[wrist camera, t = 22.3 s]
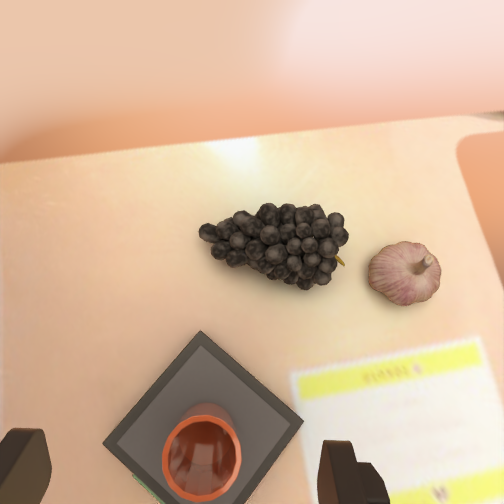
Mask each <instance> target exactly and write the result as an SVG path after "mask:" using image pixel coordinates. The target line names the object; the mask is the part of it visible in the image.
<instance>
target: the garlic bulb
mask: <svg viewBox="0 0 504 504" xmlns="http://www.w3.org/2000/svg"><path fill="white" fill-rule="evenodd" d="M369 272H370V274H369V284H370V286H371V287H372V288H373V289H374V290H377V291H380V292H382V293H384V294H385V295H386V296H387V297H388V298H389V299H390V301H392V302H393V303H395V304H397V305H401V306H407V305H411V304H413V303H415V302H424V301H426V300H428V299H429V298H431V296H432V295H433V293H435V292H436V291H437V290H438V288H439V285H440V276H441V267H440V265H439V262H438V260H437V259H436V257H435V256H434V255H432V254H431V253H430V252H429V251H428V250H427V248H426V247H425V246H424V245H422V244H420V243H411V242H407V241H404V242H399V243H397V244H395V245H389V246H386V247H384V248H383V249H382V250H381V251H380V253H379V254H377V255H376V256H374V257H373V258H372V260H371V261H370V265H369Z"/></svg>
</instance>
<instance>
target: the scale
mask: <svg viewBox="0 0 504 504" xmlns="http://www.w3.org/2000/svg"><path fill="white" fill-rule="evenodd" d="M199 403H214V404H217V405H219V406H221V407H223V408H224V409H225V410H226V411H227V412H228V413H229V414H230V415H231V417H232V419H233V421H234V424H235V426H236V430H237V433H238V437H239V441H240V445H241V457H242V463H241V466H240V469H239V473H238V476H237V479H236V480H235V481H234V483H233V484H232V485H231V487H230V488H229V489H228V491H226V493H224V494H222V495H221V496H219V497H217V498H216V499H214V500H212V501H204V502H193V501H190V500H187V499H184V498H181V497H180V496H179V495H178V494H177V493H176V492H175V491H174V490H173V489H171V488H170V486H169V485H168V482H167V480H166V478H165V475H164V473H163V470H162V452H163V449H164V446H165V443H166V440H167V438H168V436H169V434H170V433H171V431H172V430H173V428H174V426H175V425H176V423H177V422H178V420H179V419H180V418H181V416H182V415H183V414H184V413H185V411H186V410H188V409H189V408H191V407H192V406H194V405H196V404H199ZM303 422H304V420H302V419H301V418H300V417H299V416H298V415H297V414H296V413H294V412H293V411H292V410H291V409H290V408H289V407H288V406H286V405H285V404H284V403H283V402H282V401H281V400H280V399H278V398H277V397H276V396H275V395H274V394H273V393H272V392H270V391H269V390H268V389H267V388H266V387H265V386H264V385H262V384H261V383H260V382H259V381H258V380H257V379H256V378H254V377H253V376H252V375H251V374H250V373H249V372H248V371H246V370H245V369H244V368H243V367H242V366H241V365H240V364H238V363H237V362H236V361H235V360H234V359H233V358H232V357H230V356H229V355H228V354H227V353H226V352H225V351H224V350H222V349H221V348H220V347H219V346H218V345H217V344H216V343H214V342H213V341H212V340H211V339H210V338H209V337H208V336H206V335H205V334H204V333H203V332H202V331H199V332H198V333H197V334H196V336H195V337H194V338H193V339H192V340H191V341H190V343H189V344H188V345H187V346H186V347H185V348H184V349H183V351H182V352H181V353H180V354H179V355H178V356H177V358H176V359H175V360H174V361H173V362H172V363H171V364H170V366H169V367H168V368H167V369H166V370H165V371H164V373H163V374H162V375H161V376H160V377H159V378H158V379H157V381H156V382H155V383H154V384H153V385H152V386H151V388H150V389H149V390H148V391H147V392H146V393H145V395H144V396H143V397H142V398H141V399H140V400H139V401H138V403H137V404H136V405H135V406H134V407H133V408H132V410H131V411H130V412H129V413H128V414H127V415H126V416H125V418H124V419H123V420H122V421H121V422H120V423H119V425H118V426H117V427H116V428H115V429H114V430H113V431H112V433H111V434H110V435H109V436H108V437H107V438H106V440H105V441H104V442H103V443H102V444H103V445H104V446H105V447H106V448H107V449H108V450H109V451H110V452H111V453H113V454H114V455H115V456H116V457H117V458H118V459H119V460H120V461H121V462H122V463H123V464H124V465H125V466H126V467H127V468H128V469H129V470H130V471H131V472H133V473H134V474H133V477H134V478H135V479H136V480H137V481H138V482H139V483H140V484H141V485H142V486H143V487H144V488H145V489H146V490H147V491H148V492H150V493H151V494H152V495H153V496H154V497H155V498H156V499H157V500H158V501H159V502H160V503H161V504H244V503H245V502H246V501H247V499H248V498H249V497H250V495H251V494H252V492H253V491H254V490H255V488H256V487H257V486H258V484H259V483H260V481H261V480H262V479H263V477H264V476H265V475H266V473H267V472H268V470H269V469H270V468H271V466H272V465H273V464H274V462H275V461H276V459H277V458H278V457H279V455H280V454H281V452H282V451H283V450H284V448H285V447H286V446H287V444H288V443H289V441H290V440H291V439H292V437H293V436H294V435H295V433H296V432H297V430H298V429H299V428H300V426H301V425H302V424H303Z"/></svg>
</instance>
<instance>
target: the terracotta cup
mask: <svg viewBox="0 0 504 504" xmlns="http://www.w3.org/2000/svg"><path fill="white" fill-rule="evenodd" d="M241 463H242V457H241V445H240V441H239V437H238V433H237V430H236V426H235V424H234V421H233V419H232V417H231V415H230V414H229V413H228V412H227V411H226V410H225V409H224V408H223V407H221V406H219V405H217V404H214V403H199V404H196V405H194V406H192V407H191V408H189V409H188V410H186V411H185V413H184V414H183V415H182V416H181V418H180V419H179V420H178V422H177V423H176V425H175V426H174V428H173V430H172V431H171V433H170V434H169V436H168V438H167V440H166V443H165V446H164V449H163V452H162V470H163V473H164V475H165V478H166V480H167V482H168V485H169V486H170V488H171V489H173V490H174V491H175V492H176V493H177V494H178V495H179V496H180V497H181V498H184V499H187V500H190V501H193V502H204V501H212V500H214V499H216V498H217V497H219V496H221V495H222V494H224V493H226V491H228V489H229V488H230V487H231V485H232V484H233V483H234V481H235V480H236V479H237V476H238V473H239V469H240V466H241Z"/></svg>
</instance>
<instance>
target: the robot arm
mask: <svg viewBox="0 0 504 504" xmlns="http://www.w3.org/2000/svg"><path fill="white" fill-rule="evenodd" d="M51 472H52V465H51V461H50V456H49V452H48V447H47V443H46V439H45V434H44V431H43V430H42V429H32V428H13V429H11V430H10V431H9V432H8V433H7V434H6V436H5V437H4V438H3V440H2V441H1V443H0V504H40V502H41V500H42V498H43V496H44V494H45V492H46V490H47V488H48V485H49V482H50V478H51ZM317 491H318V501H319V504H390V499H389V496H388V493H387V490H386V487H385V484H384V481H383V479H382V478H381V476H380V475H379V474H378V472H377V471H376V470H375V468H374V467H373V466H372V464H371V463H365V462H357V461H356V457H355V453H354V449H353V446H352V443H351V442H350V441H336V440H324V441H323V445H322V452H321V458H320V464H319V470H318V478H317Z"/></svg>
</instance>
